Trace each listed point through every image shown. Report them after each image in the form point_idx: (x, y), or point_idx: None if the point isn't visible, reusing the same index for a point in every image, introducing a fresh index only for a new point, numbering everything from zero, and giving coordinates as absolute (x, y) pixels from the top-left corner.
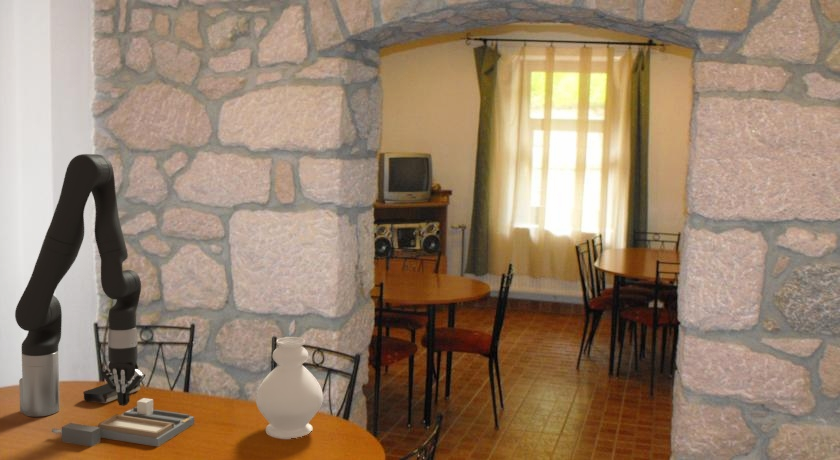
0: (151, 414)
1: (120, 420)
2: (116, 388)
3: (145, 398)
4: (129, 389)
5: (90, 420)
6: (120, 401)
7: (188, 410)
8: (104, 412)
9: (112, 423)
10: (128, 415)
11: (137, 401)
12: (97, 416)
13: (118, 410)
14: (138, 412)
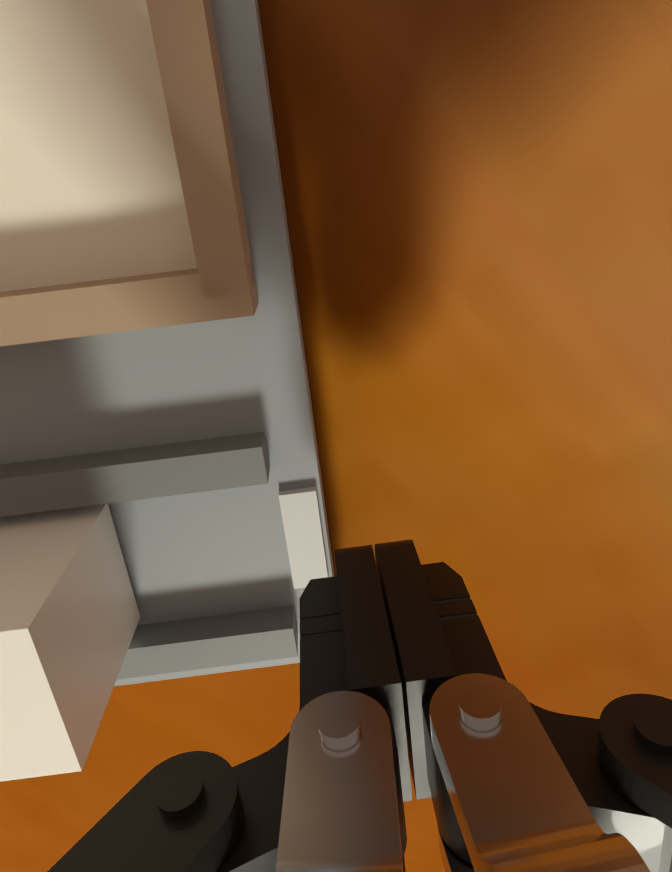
0: None
1: (129, 252)
2: (538, 738)
3: (38, 768)
4: (154, 802)
5: (658, 279)
6: (390, 572)
7: (5, 862)
8: (653, 522)
9: (126, 86)
10: (186, 445)
11: (16, 628)
12: (655, 409)
13: (556, 616)
14: (69, 525)
